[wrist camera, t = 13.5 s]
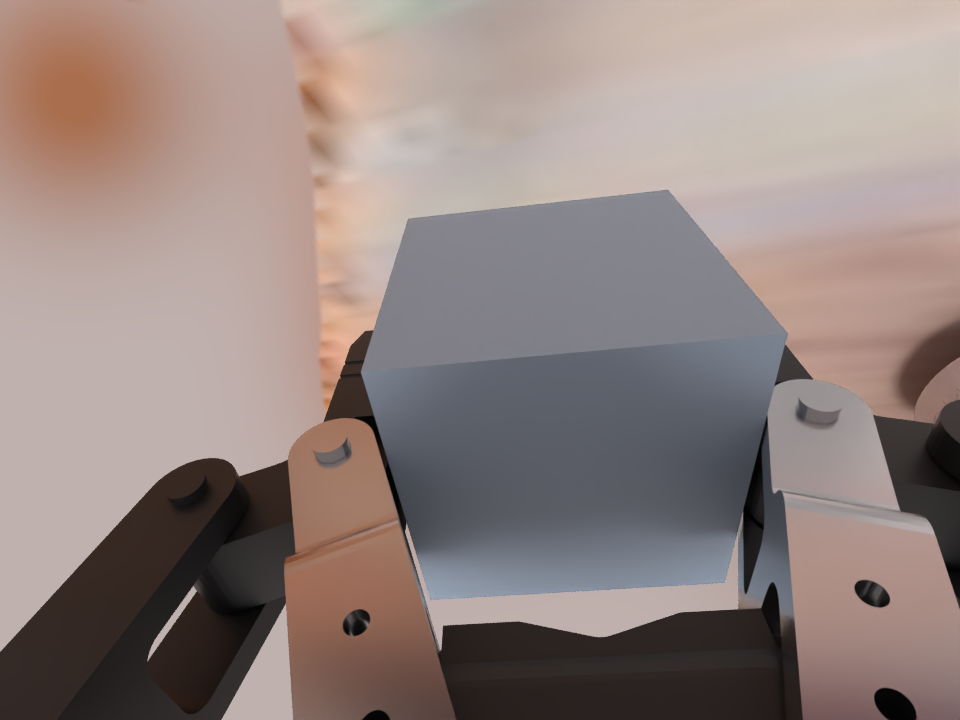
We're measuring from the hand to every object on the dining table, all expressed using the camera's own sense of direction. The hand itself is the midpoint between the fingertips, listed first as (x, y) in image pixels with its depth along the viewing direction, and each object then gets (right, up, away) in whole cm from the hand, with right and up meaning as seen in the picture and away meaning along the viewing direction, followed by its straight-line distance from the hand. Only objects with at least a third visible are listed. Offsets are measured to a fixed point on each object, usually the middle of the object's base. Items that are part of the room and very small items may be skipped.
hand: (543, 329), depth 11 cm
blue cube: (0, 0, 0) cm, 1 cm away
